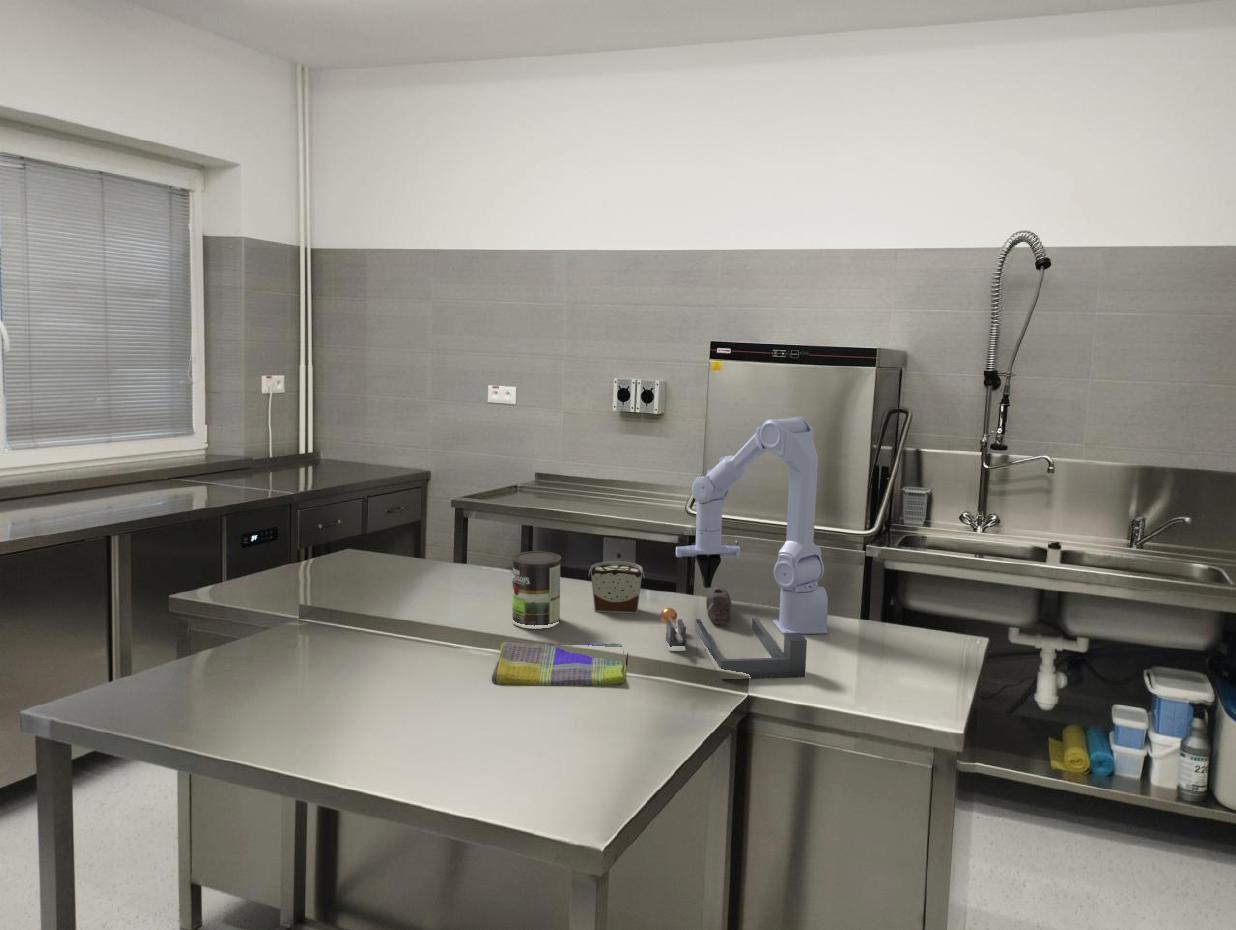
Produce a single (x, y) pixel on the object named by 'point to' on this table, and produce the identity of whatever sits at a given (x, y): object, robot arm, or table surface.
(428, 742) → the table surface
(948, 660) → the table surface
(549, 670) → the dish towel
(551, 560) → the coffee can
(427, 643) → the table surface
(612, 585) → the food container
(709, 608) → the perforated stone tool
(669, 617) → the lever
